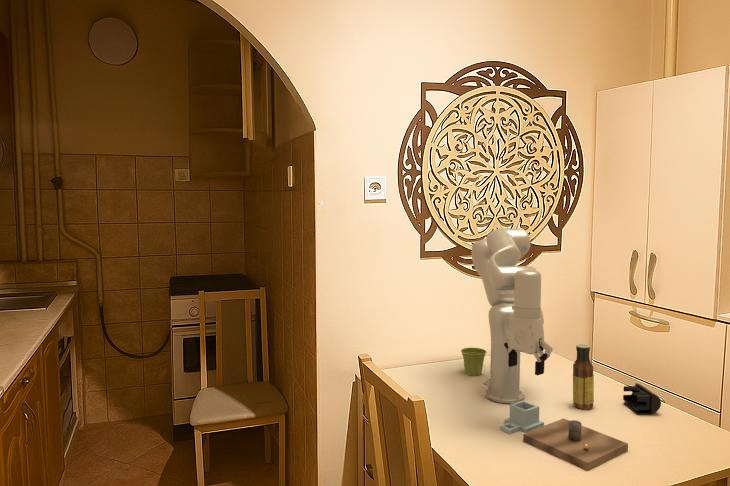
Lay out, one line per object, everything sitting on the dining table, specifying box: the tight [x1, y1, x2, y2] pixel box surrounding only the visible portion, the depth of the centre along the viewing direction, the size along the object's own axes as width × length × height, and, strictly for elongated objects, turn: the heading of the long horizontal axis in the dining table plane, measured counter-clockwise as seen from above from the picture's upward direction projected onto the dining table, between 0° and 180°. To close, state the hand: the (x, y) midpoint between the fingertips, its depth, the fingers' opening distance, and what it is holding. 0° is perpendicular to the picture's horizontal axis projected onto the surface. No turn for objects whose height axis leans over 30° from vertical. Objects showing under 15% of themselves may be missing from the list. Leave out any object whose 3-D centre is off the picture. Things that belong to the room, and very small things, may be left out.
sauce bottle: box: [572, 343, 595, 410], centre depth 178 cm, size 7×6×20 cm
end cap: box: [622, 382, 662, 416], centre depth 176 cm, size 10×7×7 cm
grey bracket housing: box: [498, 399, 545, 435], centre depth 164 cm, size 13×8×6 cm, turn 125°
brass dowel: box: [584, 443, 589, 451], centre depth 145 cm, size 1×1×2 cm
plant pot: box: [460, 347, 487, 376], centre depth 211 cm, size 9×9×9 cm
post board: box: [522, 418, 629, 471], centre depth 152 cm, size 20×18×6 cm
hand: (525, 370), depth 164 cm, fingers open, 9 cm apart
